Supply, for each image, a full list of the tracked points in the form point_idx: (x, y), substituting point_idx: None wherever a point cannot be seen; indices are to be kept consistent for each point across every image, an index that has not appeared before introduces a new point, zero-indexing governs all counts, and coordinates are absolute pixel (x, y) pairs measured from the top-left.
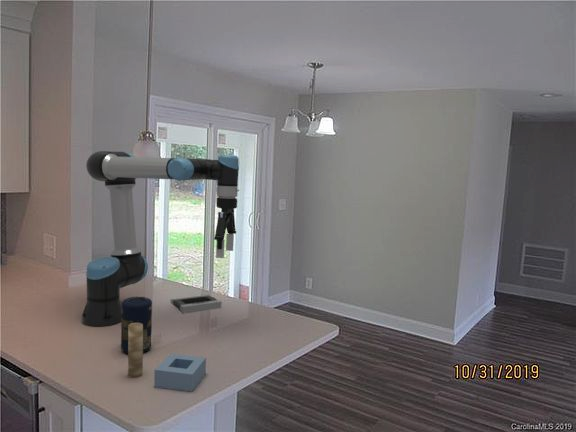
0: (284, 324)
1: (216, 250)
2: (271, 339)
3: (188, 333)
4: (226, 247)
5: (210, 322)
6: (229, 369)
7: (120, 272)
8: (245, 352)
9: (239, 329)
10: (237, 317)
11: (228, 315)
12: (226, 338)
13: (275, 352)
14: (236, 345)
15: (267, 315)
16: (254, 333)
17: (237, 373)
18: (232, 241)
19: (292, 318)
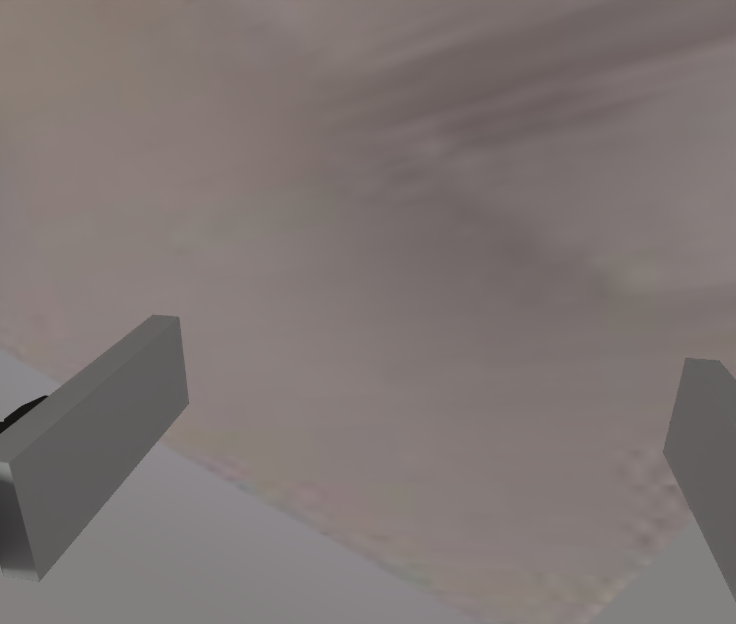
0: (545, 469)
1: (98, 361)
2: (351, 423)
3: (328, 22)
4: (702, 388)
5: (520, 98)
6: (47, 304)
7: None
8: (197, 338)
9: (440, 277)
10: (627, 237)
11: (661, 177)
12: (313, 237)
13: (231, 441)
14: (251, 294)
15: (677, 390)
16: (403, 351)
17: (32, 334)
18: (719, 552)
19: (638, 503)
